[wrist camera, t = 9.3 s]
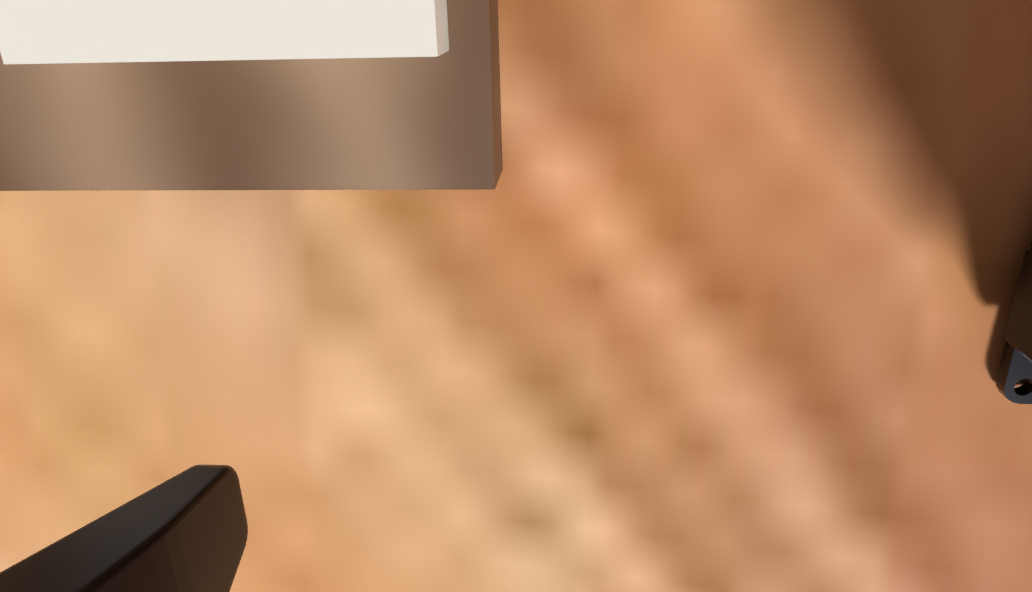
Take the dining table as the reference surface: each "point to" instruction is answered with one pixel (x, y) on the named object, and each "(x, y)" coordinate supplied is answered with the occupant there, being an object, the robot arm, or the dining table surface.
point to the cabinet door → (218, 30)
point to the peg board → (261, 120)
